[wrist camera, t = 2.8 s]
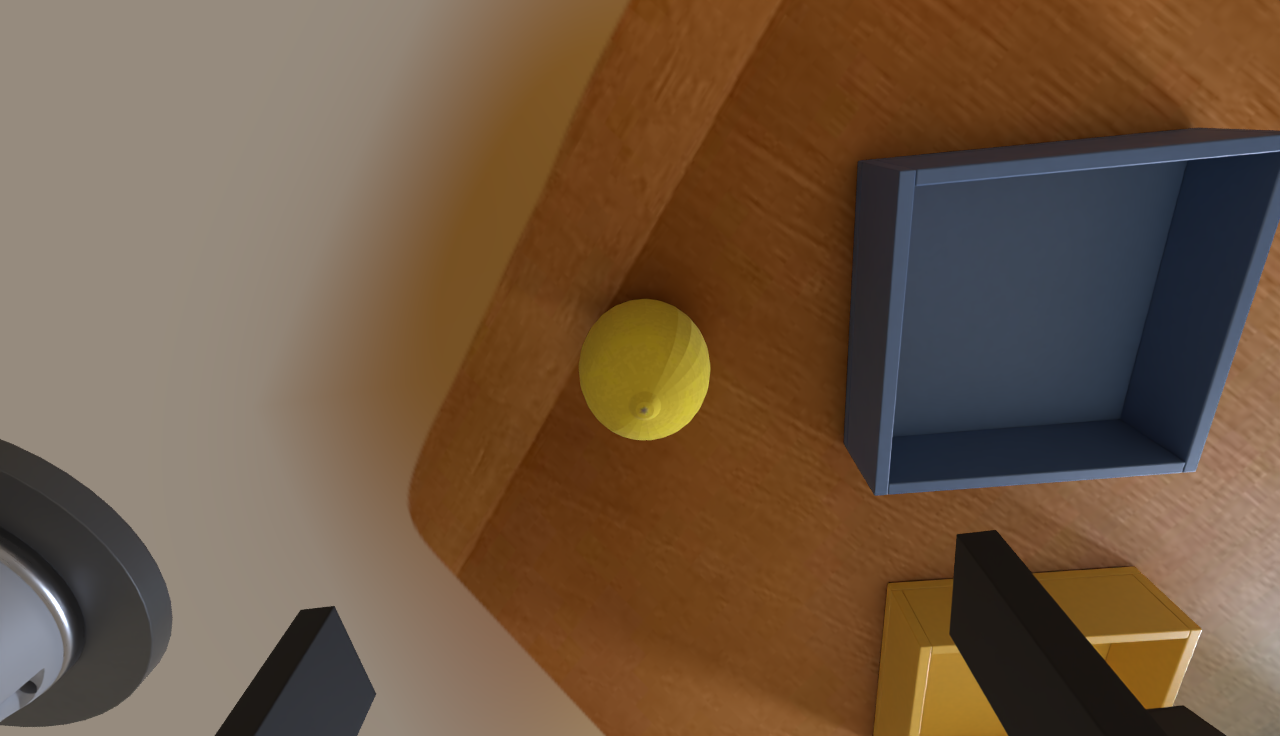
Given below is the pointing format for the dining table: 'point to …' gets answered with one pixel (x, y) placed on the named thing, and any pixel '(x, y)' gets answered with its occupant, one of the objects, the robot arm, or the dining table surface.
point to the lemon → (644, 369)
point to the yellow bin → (1093, 599)
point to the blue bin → (1052, 305)
